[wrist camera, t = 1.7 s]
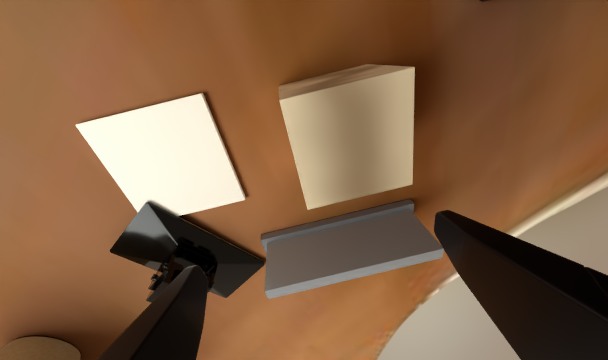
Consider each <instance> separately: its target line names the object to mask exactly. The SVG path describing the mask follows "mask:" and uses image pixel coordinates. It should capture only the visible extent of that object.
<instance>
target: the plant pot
mask: <svg viewBox="0 0 608 360" xmlns="http://www.w3.org/2000/svg"><path fill="white" fill-rule="evenodd" d="M80 358H81V354H80V352H79V350H78V349H77V348H76V347H74V346H73V345H71V344H69V343H67V342H64V341H62V340H58V339H54V338H48V337H37V336H34V337H24V338H19V339H16V340H13V341H11V342H10V343H8V344H7V345H5V346H3V347H2V348H0V360H80Z"/></svg>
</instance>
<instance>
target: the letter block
mask: <svg viewBox="0 0 608 360" xmlns="http://www.w3.org/2000/svg"><path fill="white" fill-rule="evenodd" d="M414 81H415V67H408V66H391V65H374V64H365V65H361V66H357V67H353V68H349V69H345V70H341V71H337V72H333V73H329V74H325V75H321V76H317V77H312V78H308V79H304V80H300V81H296V82H292V83H288V84H284V85H280V86H278V87H279V101H280V105H281V109H282V113H283V116H284V120H285V124H286V128H287V132H288V136H289V140H290V144H291V147H292V151H293V155H294V159H295V163H296V167H297V171H298V174H299V178H300V182H301V186H302V190H303V194H304V198H305V202H306V205H307V209H308V210H309V209H313V208H317V207H321V206H325V205H330V204H334V203H338V202H342V201H346V200H350V199H354V198H359V197H363V196H367V195H371V194H375V193H379V192H383V191H387V190H392V189H396V188H400V187H404V186H408V185H412V182H413V132H414Z"/></svg>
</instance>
